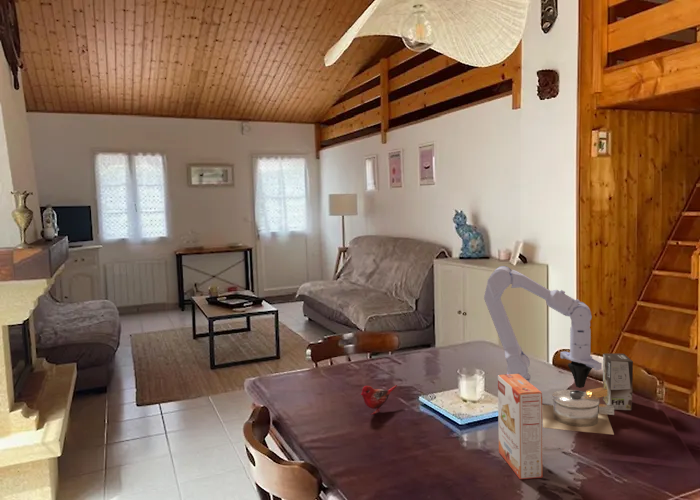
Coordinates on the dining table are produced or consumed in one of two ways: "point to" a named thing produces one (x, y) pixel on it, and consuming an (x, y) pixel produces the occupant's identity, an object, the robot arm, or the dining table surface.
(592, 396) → the lid with handle
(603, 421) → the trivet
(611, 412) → the pot
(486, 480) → the dining table surface
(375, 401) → the decorative bird figurine
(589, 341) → the robot arm
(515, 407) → the cracker box
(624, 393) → the coffee box
